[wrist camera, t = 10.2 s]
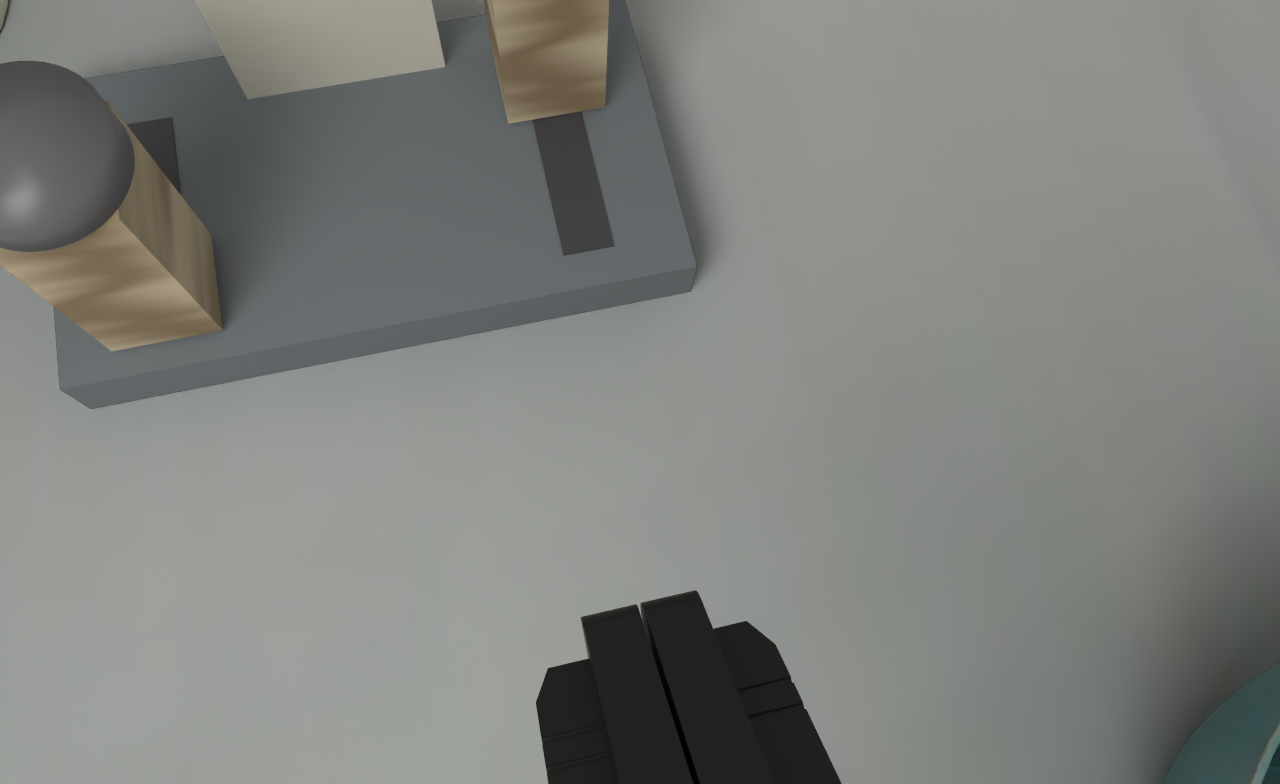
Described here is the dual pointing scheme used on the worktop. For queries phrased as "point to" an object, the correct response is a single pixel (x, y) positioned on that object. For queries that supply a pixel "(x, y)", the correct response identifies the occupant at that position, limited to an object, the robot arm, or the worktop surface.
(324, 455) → the worktop surface
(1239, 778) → the teal round bowl
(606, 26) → the far knob
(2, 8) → the coffee can
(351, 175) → the slider board
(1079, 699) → the worktop surface
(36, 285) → the near knob
